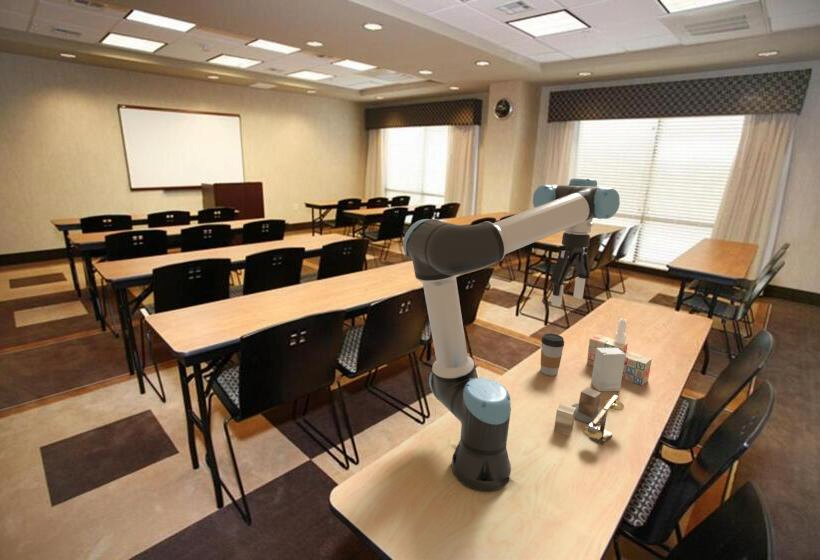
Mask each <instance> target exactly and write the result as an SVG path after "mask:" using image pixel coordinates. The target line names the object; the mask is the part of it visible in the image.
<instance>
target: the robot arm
mask: <svg viewBox="0 0 820 560" xmlns="http://www.w3.org/2000/svg"><path fill="white" fill-rule="evenodd" d="M620 200H621V199H620V194H619V191H617V190H616V189H615V188H612V187H606V186H603V185H601V186H598V181H597V180H596V179H594V178H574V177H573V178H571V179H570V180H569V182H568V185H565V184H550V183H548V184H542V185H539V186H538V187H536V189H535V190H534V192H533V195H532V205H533V208H530V209H528V210H524V211H522V212H519V213H517V214H515V215H511V216H509V217H506V218H504V219H501V220H499V221H496V222H493V223H492V222H491V221H483V222H479V223H477V224H472V225H470V224H469V225H462V224H454V223H449V222H446V221H442V220H439V219H437V218H431V219H429V218H425V219H424V218H423V219H419V220H417V221H416V222H413V223H412V224H411V225H410V227H409V228H408V230H407V231H406V232H405V235H404V237H403V242H402V245H403V247H402V248H403V251H404V253H405V255H406V257H407V258H408V259H409V261H411V262H412V265H413V271H414V277H415V279H416V280H418V281H419V282H421V283H422V286H423V291H424V292H423V293H424V298H425V305H426V309H427V315H428V320H429V324H430V325H429V326H430V331H431V338H432V343H433V348H434V349H433V350H434V353H435V354H434V355H435V361H434V362H433V364H432V367H431V368H432V369H431V370H432V371H431V372H430V374H429V377H428V384H429V388H430V390H431V392H432V394H433V395H434V397H435V399H436V400H438V401H439V402H440V403H441V405H443V406H444V407H445V408H446V409H447V410H448V411H450V413H451V414H452V415H453V416H454V417H455V418H456V419H457V420H458V421H459V422H460V424H461V425H460V426H461V428H460V440H459V441H458V443H457V445H456V447H455V450H454V452H453V455H452V460H451V469H452V473H453V475H454V476H455V478H456V479H457V480H458V481H459V482H460V483H462V484H463V485H465V486H467V487H469V488H471V489H474V490H478V491H487V492H488V491H496V490H499V489H501V488H503V487H504V486H506V485H507V484H508V483H509V481H510V477H511V471H512V466H511V465H512V464H511V462H510V459H509V454H508V449H507V444H508V443H507V442H508V435H509V428H510V419H511V411H512V407H511V405H512V404H511V403H512V402H511V401H512V400H511V396H510V393H509V391H508V389H506V387H505V386H504V385H502V384H501V383H499V382H498V381H497V380H496V381H495V380H490V379H489V378H486V377H477V374H476V367H475V361H474V359H473V358H472V357H470V355H468V351H467V343H466V338H465V332H464V331H465V330H464V325H463V318H462V311H461V310H462V309H461V304H460V295H459V289H458V283H457V282H458V281H457V277H458V276H461V275H464V274H465V275H466V274H469V273H472V272H473V273H474V272H476V271H480V270H482V269H485V268H488V267H491V266H492V265H495V264H497V263H499V262H501V261H503V259H504V258H505V255H507V254H509V253H512V252H514V251H516V250H518V249H521V248H525V247H526V246H528V245H529V246H530V245H531V244H533V243H536V242H538V241H540V240H544V239H545V238H547V237H551V236H553V235H555V234H557V233H558V234H559V233H560V232H562V231H563V233H562V237H561V238H562V239H561V245H563V246H565V250H559V251H558V257H557V260H556V262H555V265H554V268H553V271H552V273H551V276H550V279H549V283H550V284H551V285H553V289H552V295H551V297H552V298H551V303H550V305H551V306H554V307H558V308H561V307H562V301H563V294H564V293H563V292H564V286H565V285H563V283H564V281H565V279H566V278H567V276H568V274H569V272H570V269H571V268H572V267H574V269H575V272H576V274H577V277H575V281H574V282H575V283H574V288H573V290H574V291H573V294H572V295H573V296H572V297H573V298H576V299H579V300H583V298H584V290H585V286H586V285H585V284H586V279H587V280H588V279H590V273H591V270H590V263H589V261H590V260H589V249H590V248H589V247H590V240H591V235H590V234H589V233H591V232H592V226H594V223H593V219H598V220H603V219H605V220H606V219H610V218H612V217H614V215H616V213H617V212H618V210H619V207H620V204H621V202H620Z"/></svg>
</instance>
